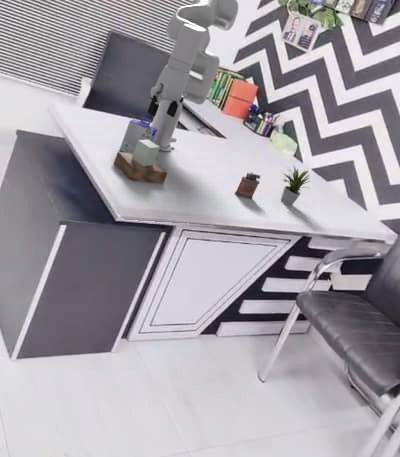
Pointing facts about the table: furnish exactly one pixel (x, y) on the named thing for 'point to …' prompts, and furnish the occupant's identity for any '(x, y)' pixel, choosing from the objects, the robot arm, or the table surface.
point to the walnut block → (140, 169)
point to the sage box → (145, 152)
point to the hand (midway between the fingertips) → (160, 114)
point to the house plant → (293, 187)
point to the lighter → (247, 186)
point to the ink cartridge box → (137, 134)
